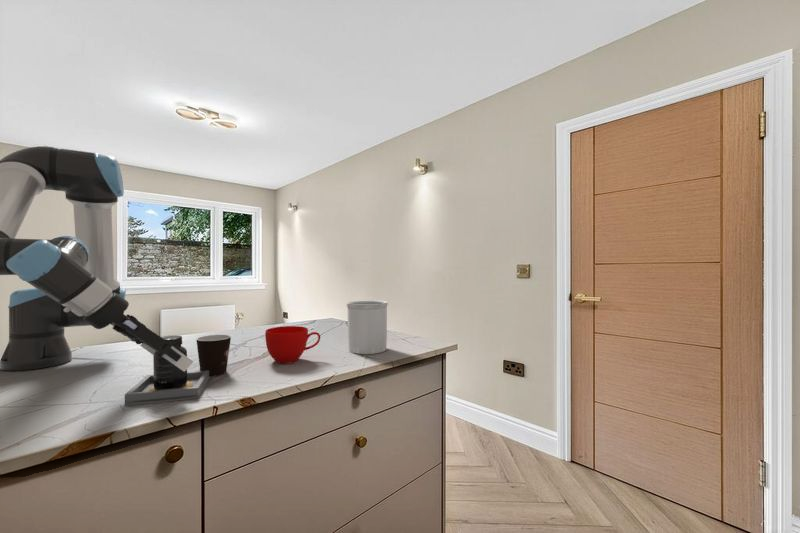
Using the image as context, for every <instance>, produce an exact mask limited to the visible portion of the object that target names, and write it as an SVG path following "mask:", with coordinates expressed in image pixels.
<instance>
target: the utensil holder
mask: <svg viewBox="0 0 800 533" xmlns="http://www.w3.org/2000/svg"><path fill="white" fill-rule="evenodd" d="M388 305H389V304H388V301H387V300H378V299H377V300H375V299H365V300H363V299H362V300H352V301H347V302H346V308H347V342H348V351H349V352H350V353H352V354H357V355H374V354H381V353H384V352H385V351H386V350H387V339H388V335H387V334H388V328H387V327H388V326H387V325H388V313H387V312H388V309H387V308H388Z"/></svg>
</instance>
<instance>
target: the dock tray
mask: <svg viewBox="0 0 800 533" xmlns="http://www.w3.org/2000/svg"><path fill="white" fill-rule="evenodd" d="M209 381H210V377H209V371H200V370H199V371H198V370H197V371H187V384H186V385H185V386H184V387H182V388H177V389H166V390H155V389H154V374H147V375H146V376H144V377H143V378H142V379H141V380H140V381H139V382H138V383H137V384H135V385H134V386H132V388H131V389H130V390H128V391H127V392H126V393H125V394H124V406H125V407H126V406H135V405H144V404H146V405H147V404H156V403H165V402H167V403H168V402H175V401H185V400H194V399H195V400H197V399H199V398H200V396H201V395H202V392H203V390H204V389H205V387H206V385H207V384H208V382H209Z"/></svg>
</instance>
